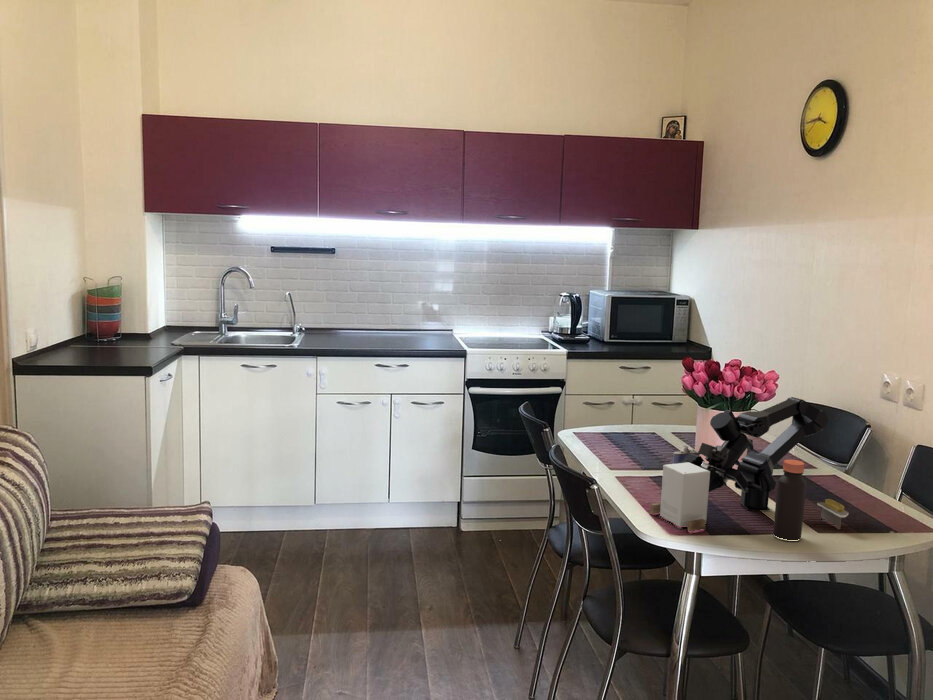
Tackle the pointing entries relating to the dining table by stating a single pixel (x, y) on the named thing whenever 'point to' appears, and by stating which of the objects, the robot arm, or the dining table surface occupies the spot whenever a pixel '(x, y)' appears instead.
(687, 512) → the supplement box
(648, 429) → the dining table surface
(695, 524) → the walnut slot
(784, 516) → the bottle
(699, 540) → the dining table surface
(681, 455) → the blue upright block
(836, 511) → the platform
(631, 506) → the dining table surface
